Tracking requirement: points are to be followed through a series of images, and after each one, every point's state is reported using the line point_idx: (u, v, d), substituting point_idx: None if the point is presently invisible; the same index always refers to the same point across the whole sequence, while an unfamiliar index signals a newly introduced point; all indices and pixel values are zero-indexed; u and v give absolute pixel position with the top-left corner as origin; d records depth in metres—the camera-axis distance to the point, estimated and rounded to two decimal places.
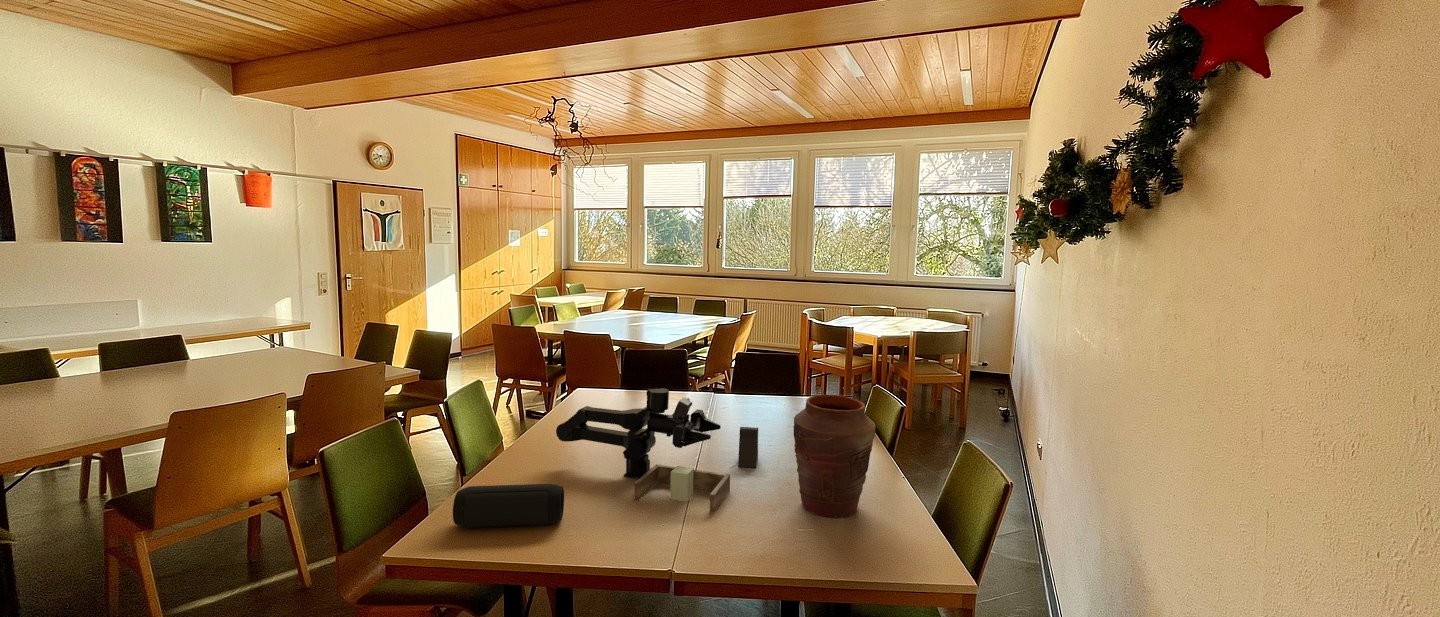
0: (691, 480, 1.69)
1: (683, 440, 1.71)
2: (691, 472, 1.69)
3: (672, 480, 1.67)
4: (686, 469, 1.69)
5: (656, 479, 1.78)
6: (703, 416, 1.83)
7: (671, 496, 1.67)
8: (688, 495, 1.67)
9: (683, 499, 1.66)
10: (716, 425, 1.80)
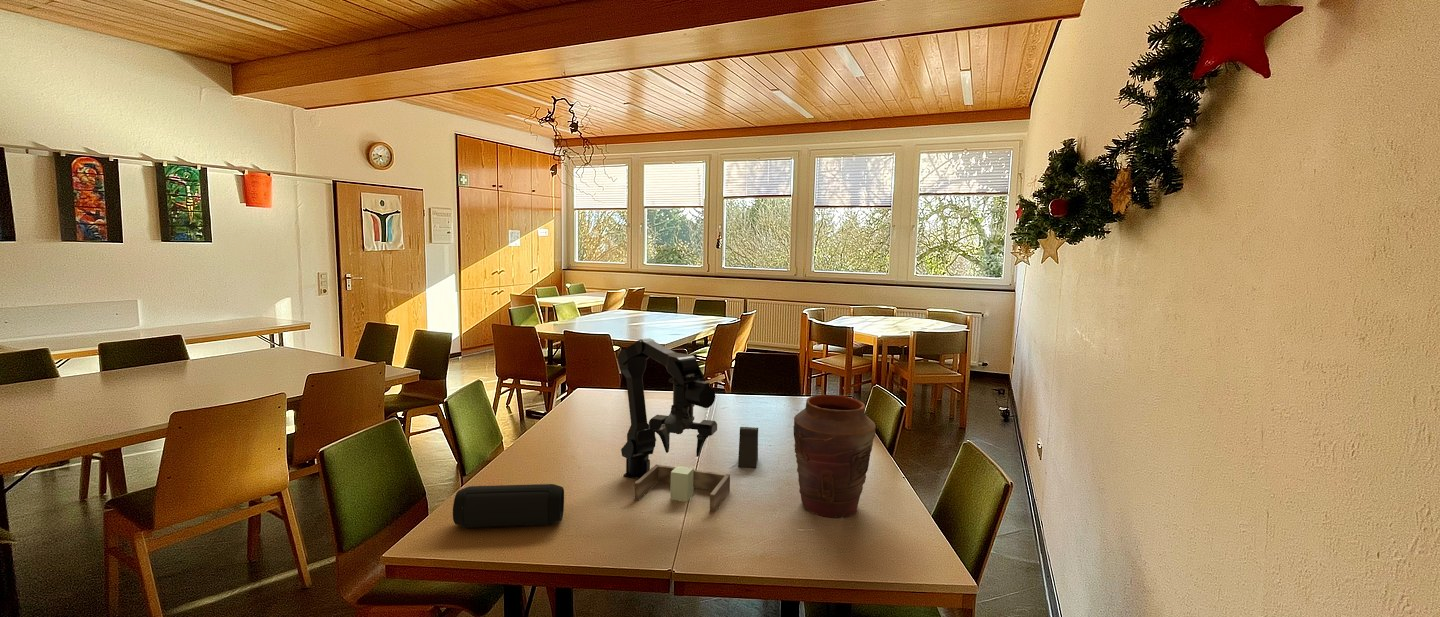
0: (691, 480, 1.69)
1: None
2: (691, 472, 1.68)
3: (672, 480, 1.67)
4: (686, 469, 1.69)
5: (656, 479, 1.78)
6: (699, 438, 1.64)
7: (671, 496, 1.67)
8: (688, 495, 1.67)
9: (683, 499, 1.66)
10: None
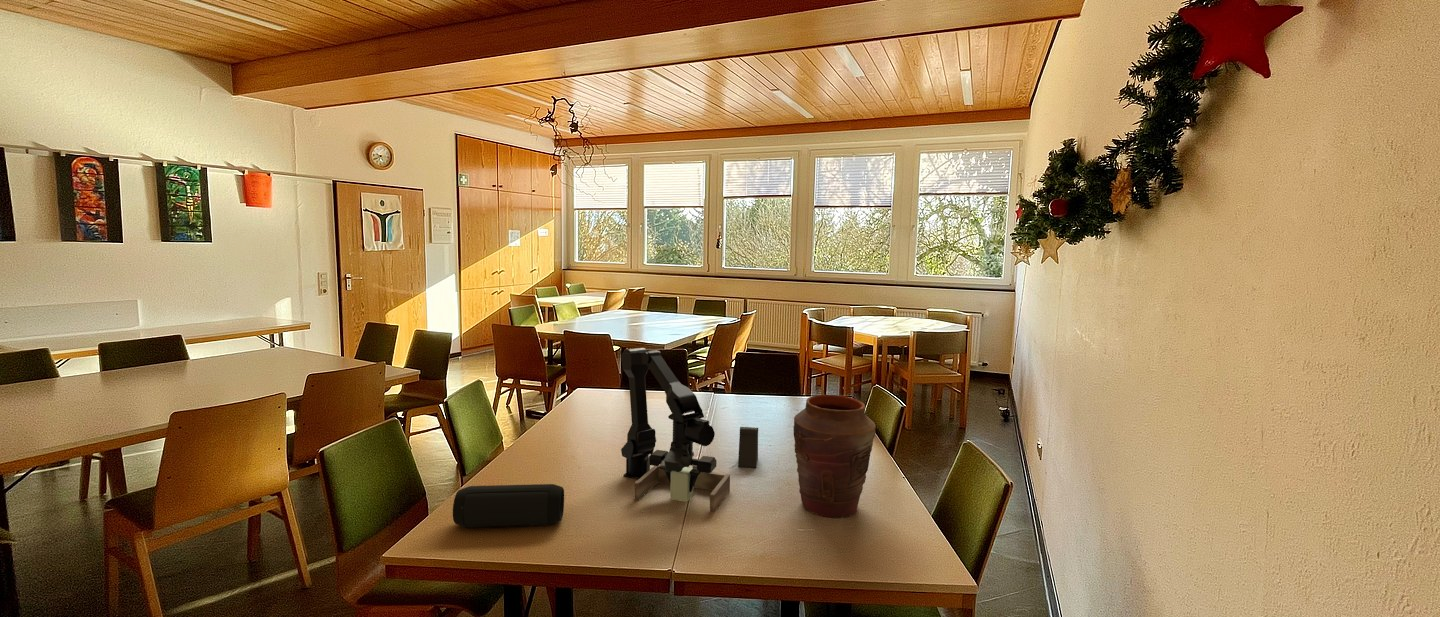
0: None
1: None
2: None
3: (672, 480, 1.67)
4: (686, 469, 1.69)
5: (656, 479, 1.78)
6: (692, 474, 1.65)
7: (671, 496, 1.67)
8: (688, 495, 1.67)
9: (683, 499, 1.66)
10: None
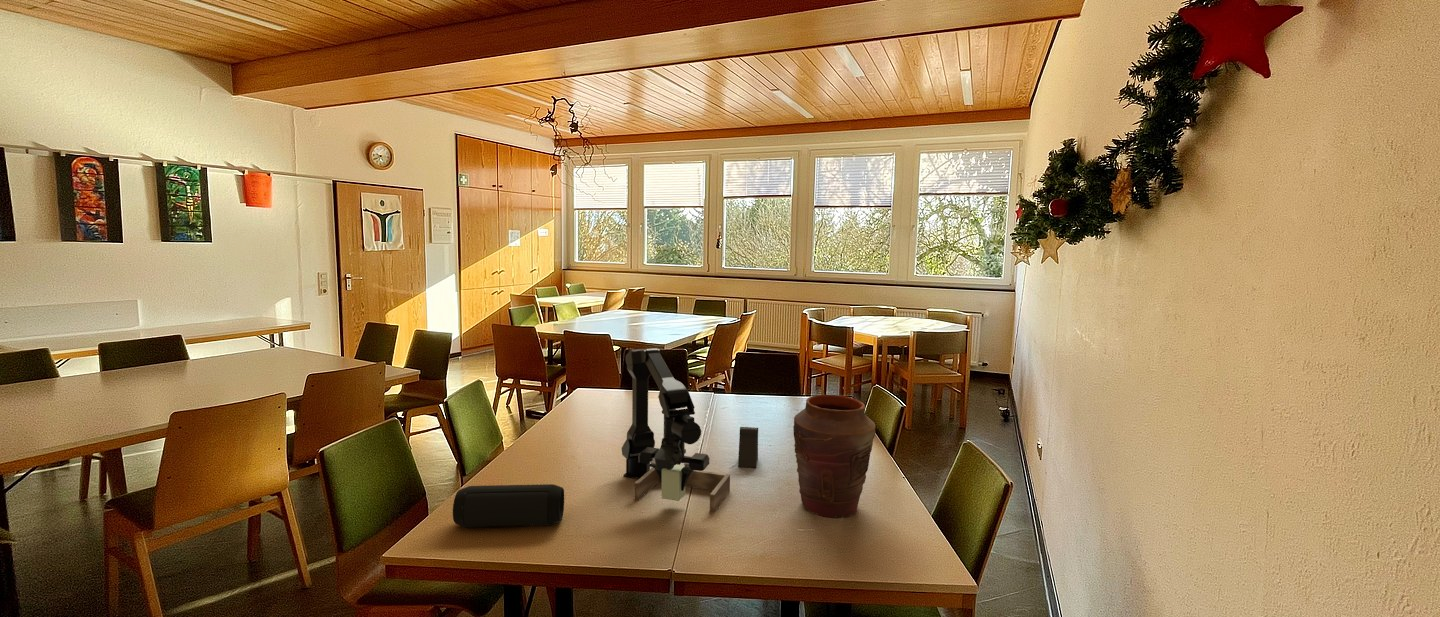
0: None
1: None
2: None
3: (663, 478, 1.60)
4: (678, 467, 1.62)
5: (656, 479, 1.78)
6: (684, 472, 1.58)
7: (662, 495, 1.60)
8: (680, 494, 1.60)
9: (675, 498, 1.59)
10: None
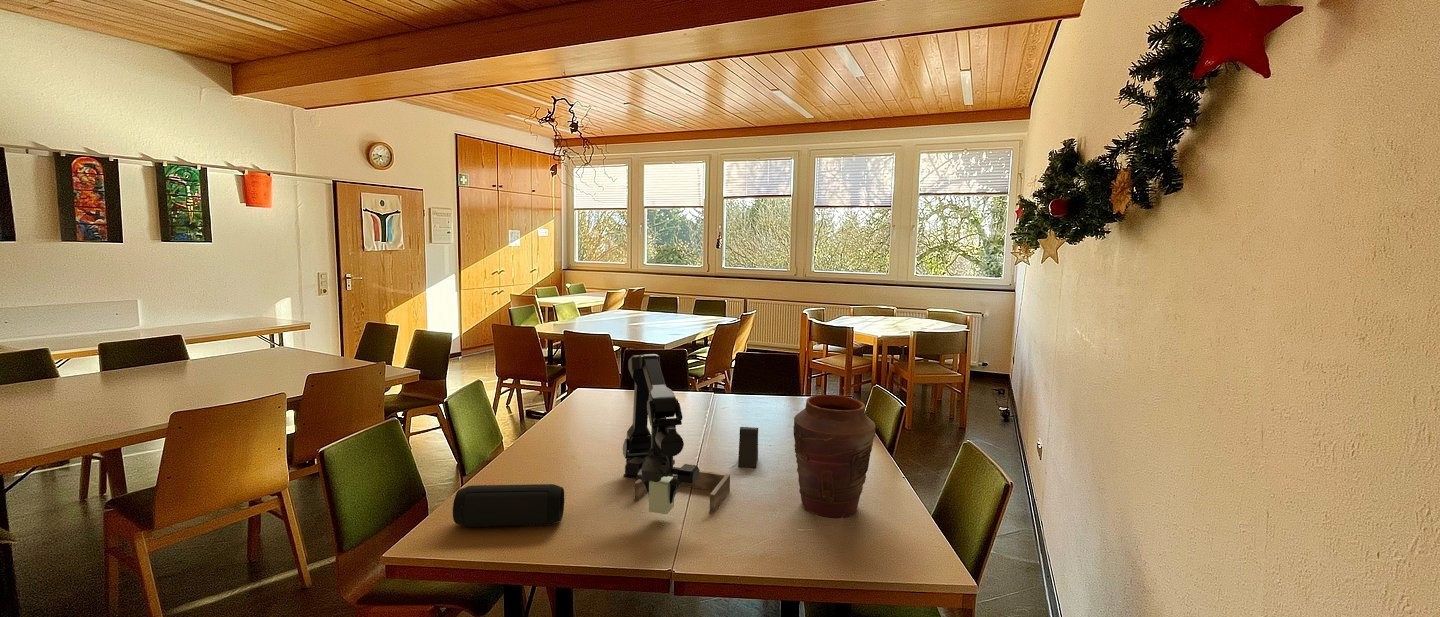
0: None
1: None
2: None
3: (651, 490, 1.52)
4: (666, 479, 1.54)
5: None
6: (672, 484, 1.51)
7: (650, 508, 1.53)
8: (669, 506, 1.53)
9: (663, 511, 1.52)
10: None
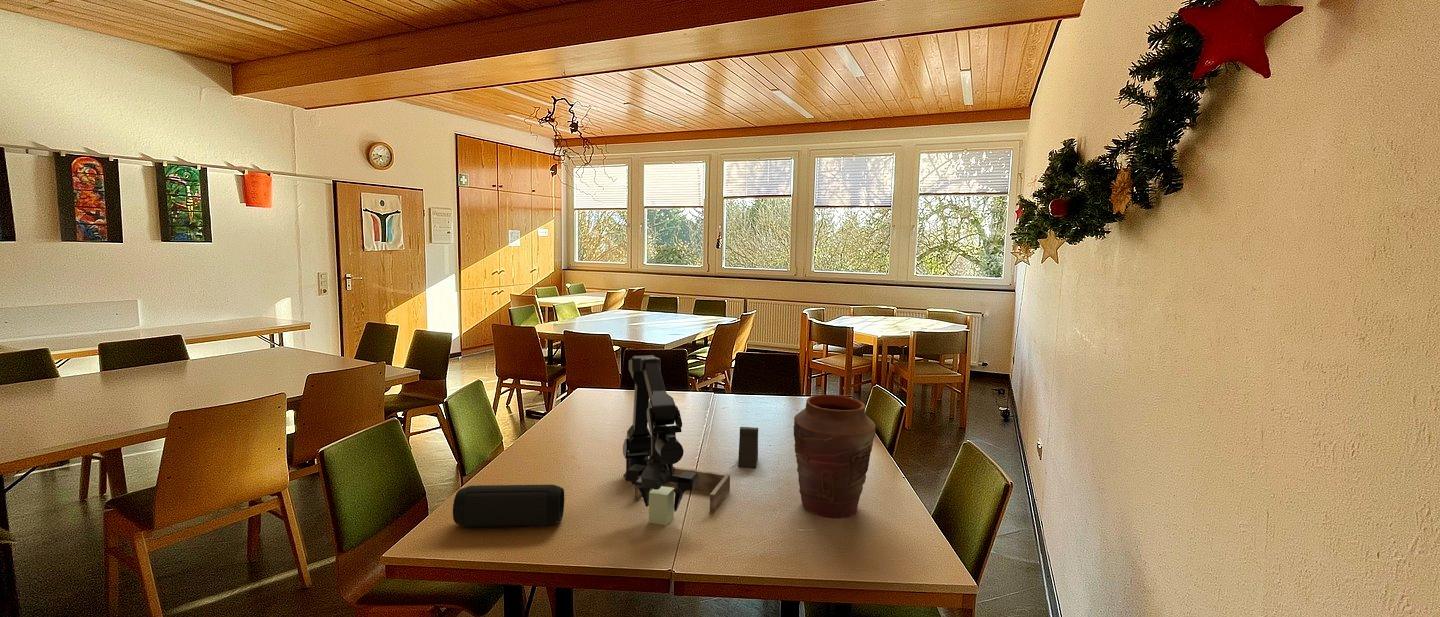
0: (671, 501, 1.55)
1: None
2: (671, 492, 1.54)
3: (650, 501, 1.53)
4: (666, 489, 1.54)
5: None
6: (677, 492, 1.50)
7: (649, 519, 1.53)
8: (668, 517, 1.53)
9: (662, 522, 1.52)
10: None
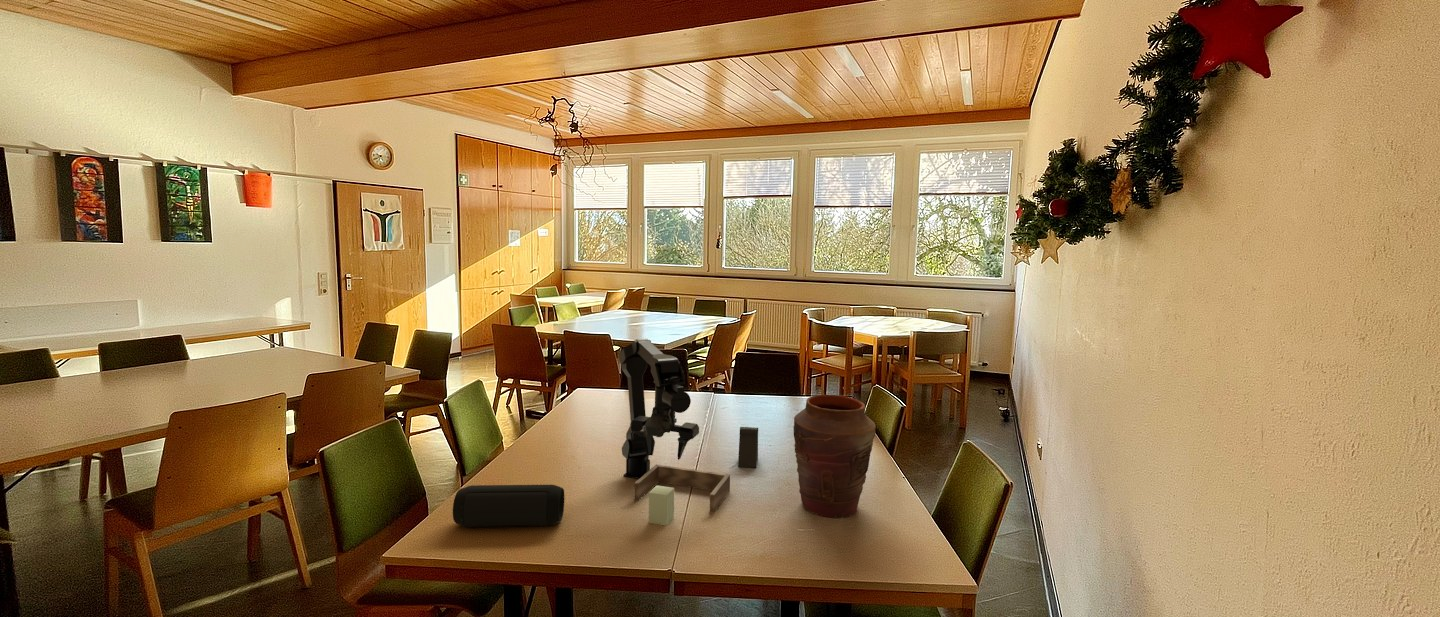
0: (671, 501, 1.55)
1: None
2: (671, 492, 1.54)
3: (650, 501, 1.53)
4: (666, 489, 1.54)
5: (656, 479, 1.78)
6: (680, 441, 1.62)
7: (649, 519, 1.53)
8: (668, 517, 1.53)
9: (662, 522, 1.52)
10: None
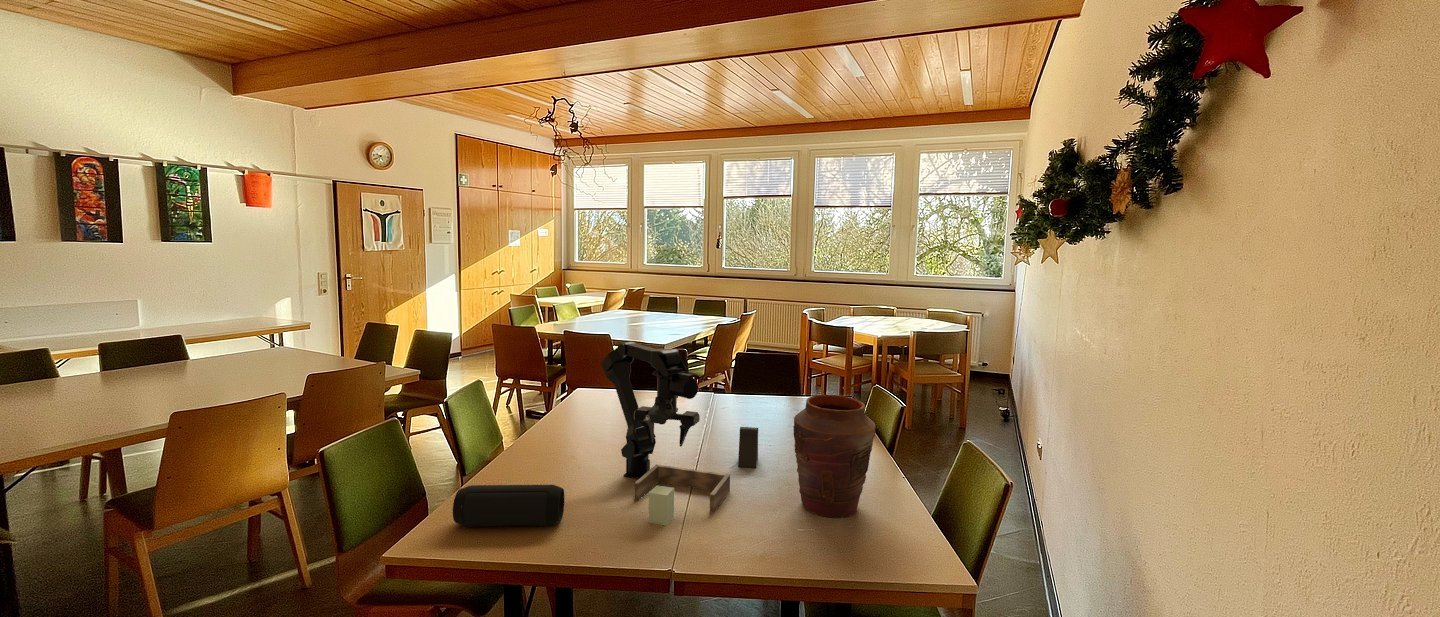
0: (671, 501, 1.55)
1: None
2: (671, 492, 1.54)
3: (650, 501, 1.53)
4: (666, 490, 1.54)
5: (656, 479, 1.78)
6: (682, 428, 1.70)
7: (649, 519, 1.53)
8: (668, 517, 1.53)
9: (662, 522, 1.52)
10: None
